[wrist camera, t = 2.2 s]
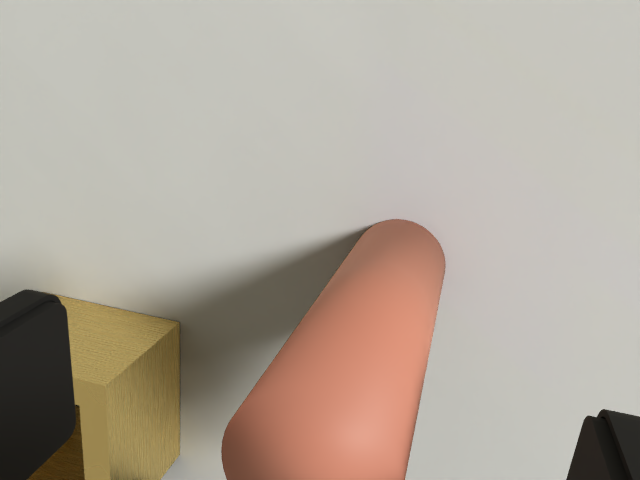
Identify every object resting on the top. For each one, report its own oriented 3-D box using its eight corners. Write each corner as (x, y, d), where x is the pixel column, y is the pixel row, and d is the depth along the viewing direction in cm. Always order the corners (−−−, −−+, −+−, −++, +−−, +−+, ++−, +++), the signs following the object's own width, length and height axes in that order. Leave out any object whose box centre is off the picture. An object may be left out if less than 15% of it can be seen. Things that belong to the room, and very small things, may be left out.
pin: (452, 227, 17) (414, 418, 8) (437, 314, 18) (389, 572, 9) (358, 212, 18) (223, 371, 9) (348, 297, 19) (219, 519, 10)
